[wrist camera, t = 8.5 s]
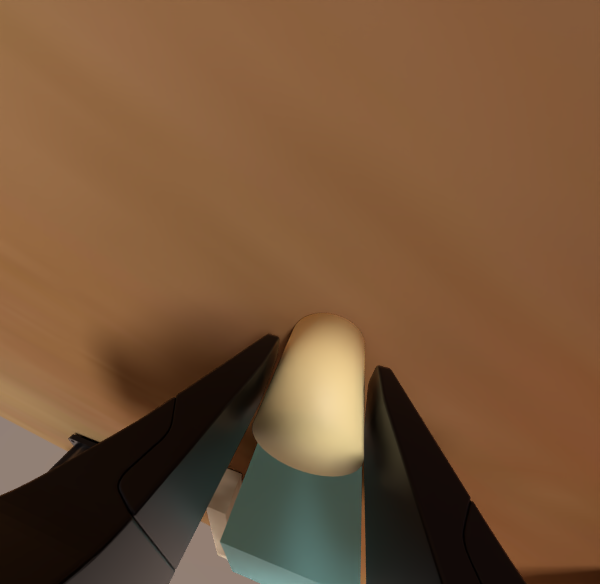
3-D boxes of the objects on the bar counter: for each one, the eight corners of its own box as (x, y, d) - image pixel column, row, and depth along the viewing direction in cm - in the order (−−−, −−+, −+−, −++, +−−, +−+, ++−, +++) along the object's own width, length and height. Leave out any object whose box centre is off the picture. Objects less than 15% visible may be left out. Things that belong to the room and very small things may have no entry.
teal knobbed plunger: (265, 470, 17) (232, 571, 13) (257, 299, 9) (164, 418, 5) (345, 497, 16) (337, 617, 12) (416, 330, 8) (469, 517, 4)
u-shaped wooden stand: (229, 524, 27) (217, 555, 25) (223, 466, 19) (205, 505, 17) (316, 561, 26) (312, 597, 24) (353, 516, 17) (352, 566, 15)
